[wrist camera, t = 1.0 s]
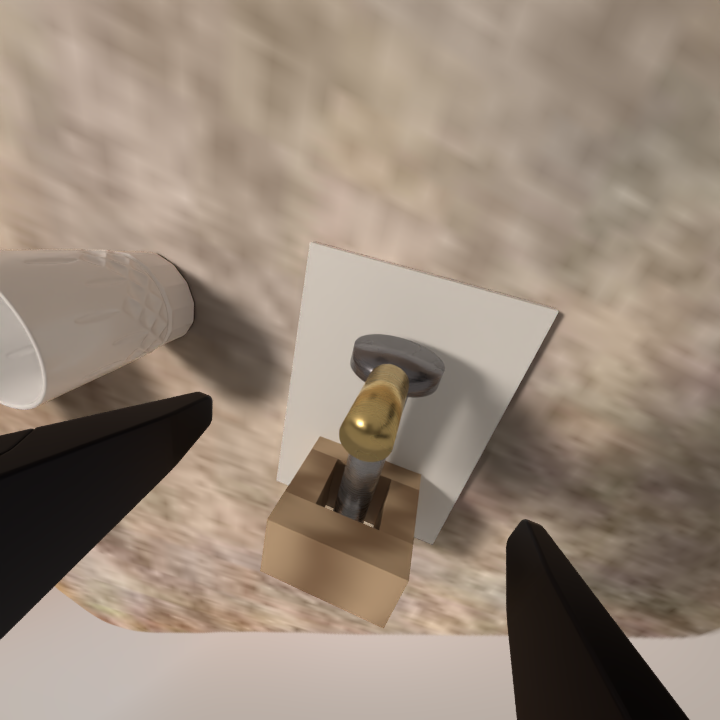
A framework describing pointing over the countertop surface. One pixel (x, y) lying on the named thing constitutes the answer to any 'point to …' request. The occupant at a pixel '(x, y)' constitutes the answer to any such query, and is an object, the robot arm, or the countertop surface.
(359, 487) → the hook rod
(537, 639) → the robot arm
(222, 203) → the countertop surface
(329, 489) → the block
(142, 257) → the white cup
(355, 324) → the mounting board
